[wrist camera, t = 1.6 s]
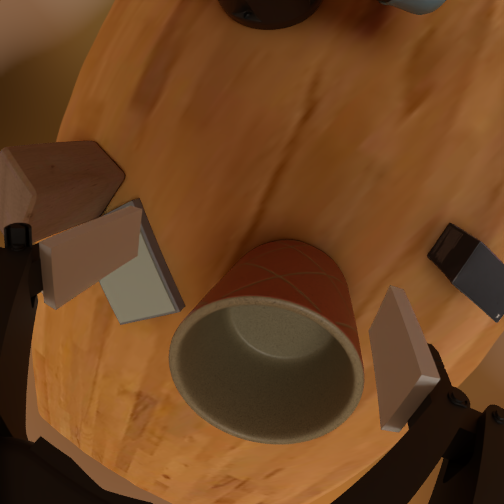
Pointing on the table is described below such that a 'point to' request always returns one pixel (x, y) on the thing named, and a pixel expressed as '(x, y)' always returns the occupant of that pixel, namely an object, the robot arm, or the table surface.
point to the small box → (471, 269)
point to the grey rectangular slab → (142, 280)
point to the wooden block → (55, 185)
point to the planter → (272, 348)
